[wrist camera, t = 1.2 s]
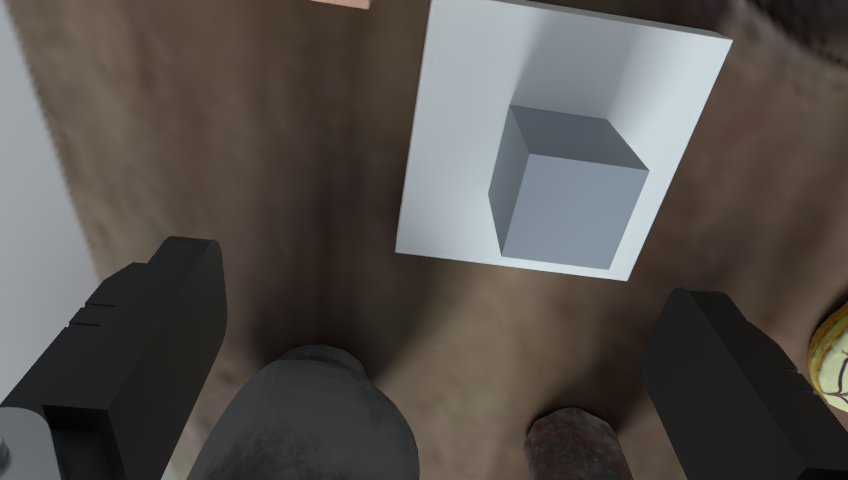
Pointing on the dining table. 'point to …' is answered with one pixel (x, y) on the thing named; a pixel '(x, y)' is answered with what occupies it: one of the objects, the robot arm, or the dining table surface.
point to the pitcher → (310, 425)
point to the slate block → (563, 188)
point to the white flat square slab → (547, 90)
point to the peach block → (350, 3)
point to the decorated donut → (831, 358)
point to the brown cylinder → (574, 448)
